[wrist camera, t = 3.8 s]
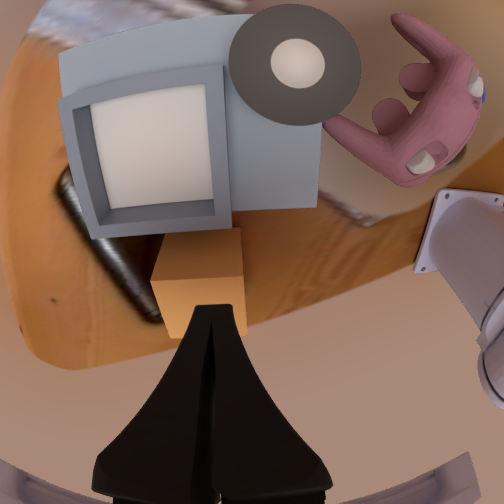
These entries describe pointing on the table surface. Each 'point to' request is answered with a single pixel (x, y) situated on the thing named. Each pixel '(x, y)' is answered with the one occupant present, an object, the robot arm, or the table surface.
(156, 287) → the orange cube
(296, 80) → the wheel
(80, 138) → the chassis
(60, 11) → the table surface
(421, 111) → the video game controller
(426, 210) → the table surface
